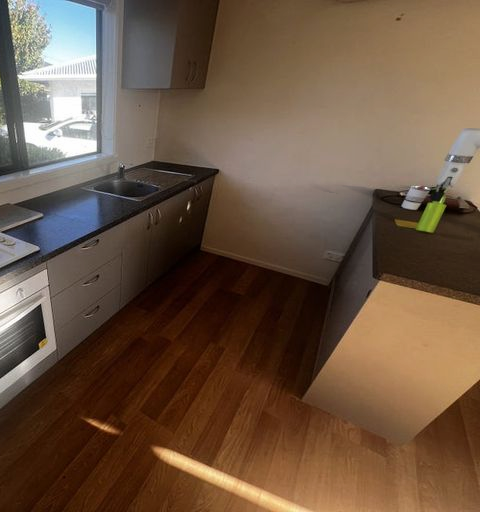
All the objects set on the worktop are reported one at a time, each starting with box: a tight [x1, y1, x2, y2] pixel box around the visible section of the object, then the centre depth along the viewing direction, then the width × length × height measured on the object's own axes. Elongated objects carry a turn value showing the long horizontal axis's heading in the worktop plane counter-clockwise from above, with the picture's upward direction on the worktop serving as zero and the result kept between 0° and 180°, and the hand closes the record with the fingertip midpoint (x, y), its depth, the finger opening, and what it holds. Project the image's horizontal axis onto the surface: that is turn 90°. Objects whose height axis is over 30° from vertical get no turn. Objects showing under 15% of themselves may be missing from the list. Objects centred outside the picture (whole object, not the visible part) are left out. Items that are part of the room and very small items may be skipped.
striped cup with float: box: [400, 185, 432, 211], centre depth 166 cm, size 10×8×12 cm
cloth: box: [394, 219, 419, 230], centre depth 147 cm, size 12×10×1 cm
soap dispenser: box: [415, 187, 450, 233], centre depth 136 cm, size 6×7×20 cm
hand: (434, 199), depth 135 cm, fingers closed on soap dispenser, 4 cm apart
